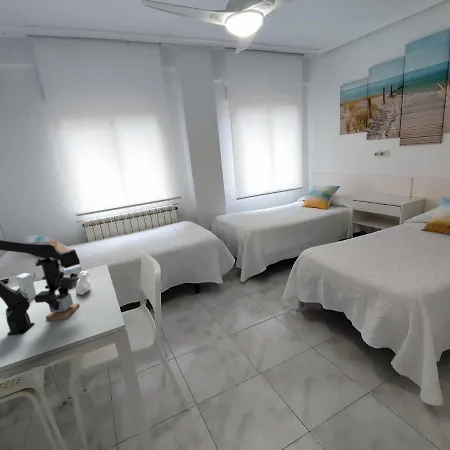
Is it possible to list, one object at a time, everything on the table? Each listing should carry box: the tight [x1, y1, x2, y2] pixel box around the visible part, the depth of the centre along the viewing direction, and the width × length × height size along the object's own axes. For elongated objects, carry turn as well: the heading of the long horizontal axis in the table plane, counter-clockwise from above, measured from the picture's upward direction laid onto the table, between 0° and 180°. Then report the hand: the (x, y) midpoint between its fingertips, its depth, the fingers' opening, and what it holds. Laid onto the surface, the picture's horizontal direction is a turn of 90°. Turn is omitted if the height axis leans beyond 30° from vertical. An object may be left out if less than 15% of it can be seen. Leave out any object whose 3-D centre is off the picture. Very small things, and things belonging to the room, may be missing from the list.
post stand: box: [45, 298, 80, 321], centre depth 114 cm, size 9×9×6 cm
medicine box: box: [62, 264, 83, 278], centre depth 143 cm, size 8×4×9 cm, turn 130°
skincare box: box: [15, 272, 37, 301], centre depth 130 cm, size 6×4×12 cm
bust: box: [75, 270, 92, 296], centre depth 133 cm, size 12×8×11 cm
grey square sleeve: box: [48, 292, 74, 313], centre depth 114 cm, size 6×6×5 cm
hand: (61, 305), depth 114 cm, fingers closed on grey square sleeve, 6 cm apart
